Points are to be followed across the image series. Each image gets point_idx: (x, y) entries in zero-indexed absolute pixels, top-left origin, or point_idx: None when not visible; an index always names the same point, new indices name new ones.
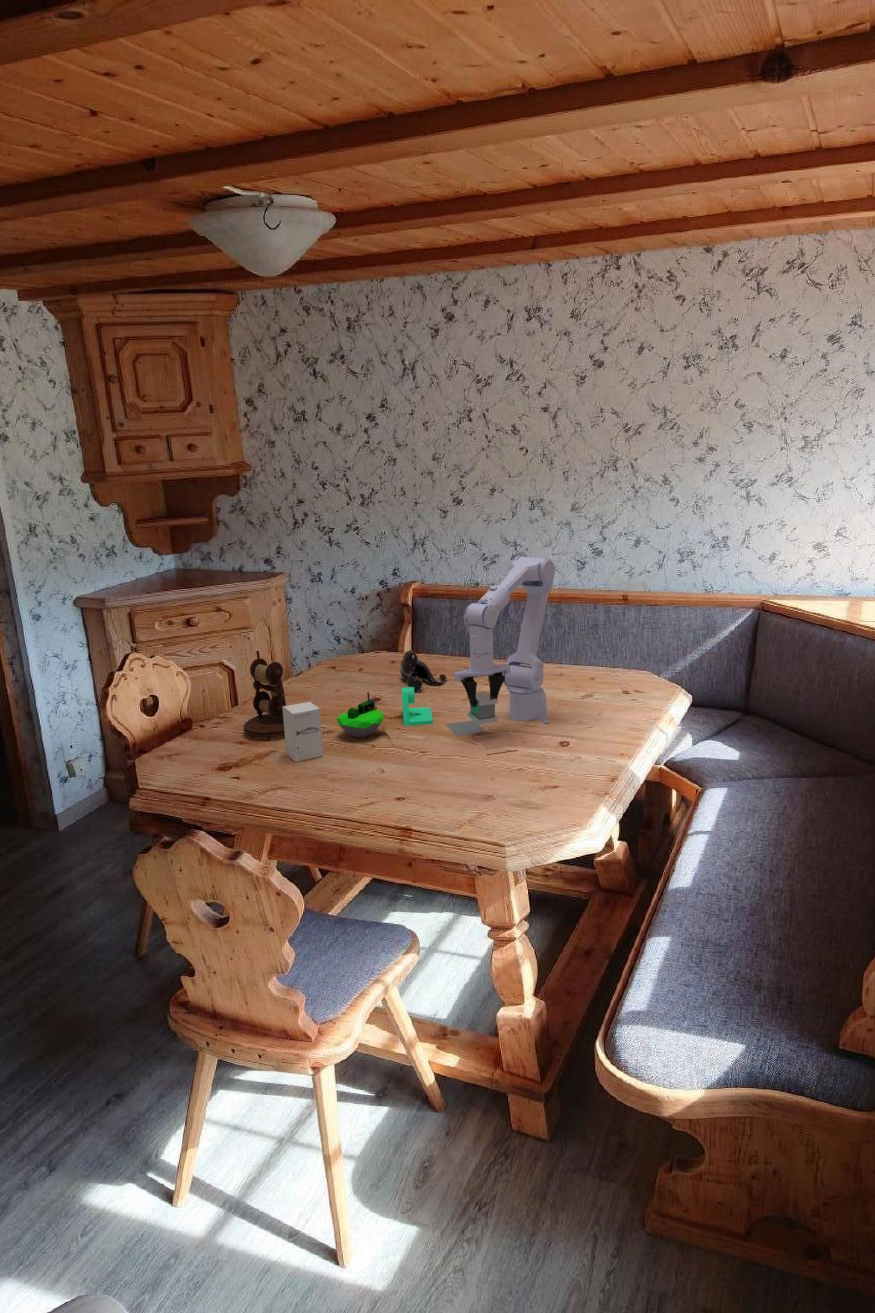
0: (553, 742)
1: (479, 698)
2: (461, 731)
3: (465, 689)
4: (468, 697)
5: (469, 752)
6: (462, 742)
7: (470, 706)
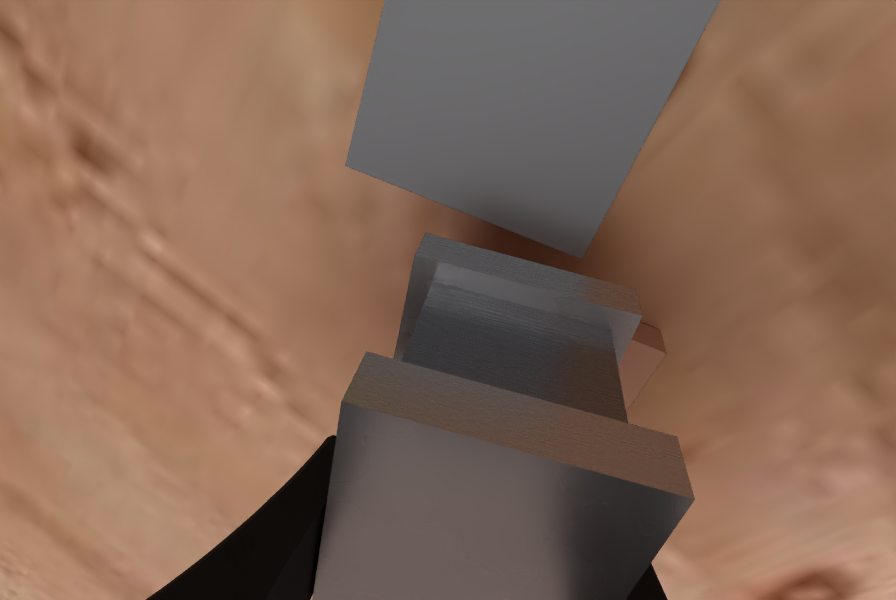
0: (791, 553)
1: None
2: (437, 100)
3: (156, 595)
4: (273, 496)
5: (329, 349)
6: (385, 193)
7: (419, 317)
